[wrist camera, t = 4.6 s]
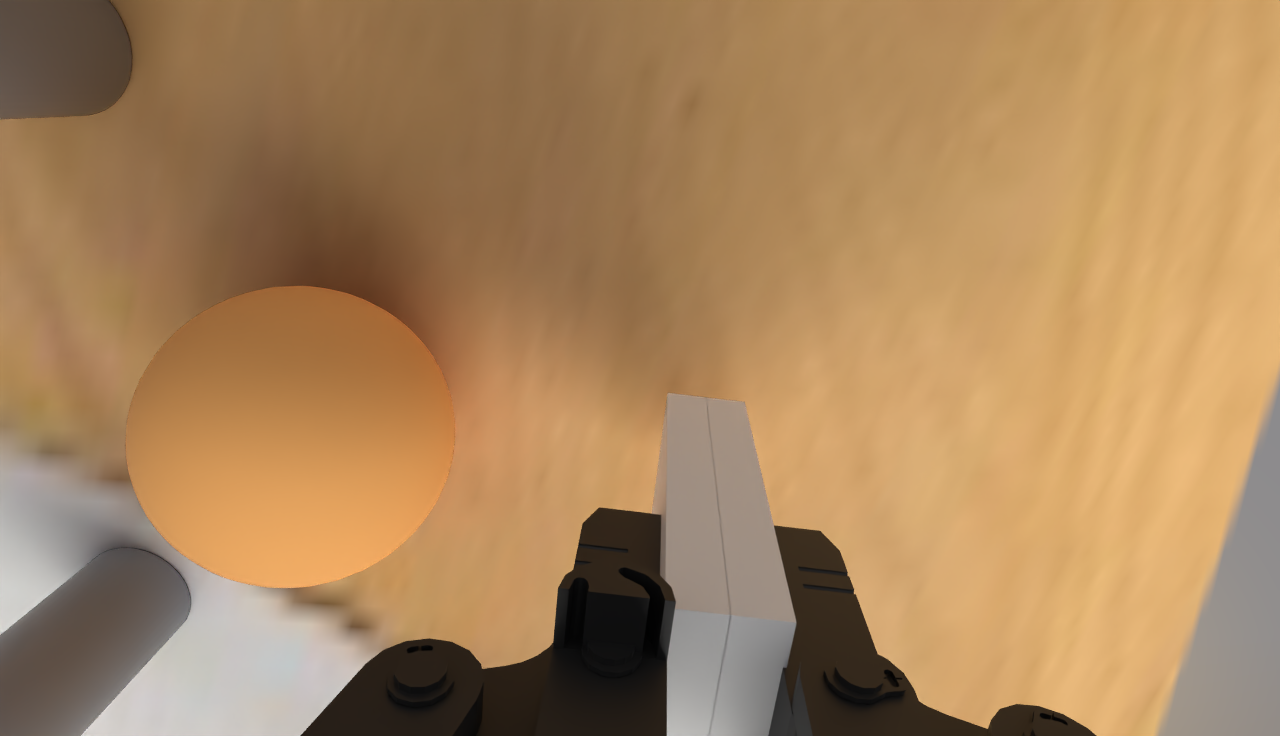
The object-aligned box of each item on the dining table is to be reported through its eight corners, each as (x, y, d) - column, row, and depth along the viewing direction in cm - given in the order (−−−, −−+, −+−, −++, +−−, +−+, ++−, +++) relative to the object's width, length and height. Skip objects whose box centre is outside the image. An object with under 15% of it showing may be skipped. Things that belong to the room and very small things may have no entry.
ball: (363, 690, 12) (490, 518, 17) (362, 368, 10) (504, 282, 16) (63, 614, 13) (269, 472, 18) (12, 303, 11) (257, 241, 16)
